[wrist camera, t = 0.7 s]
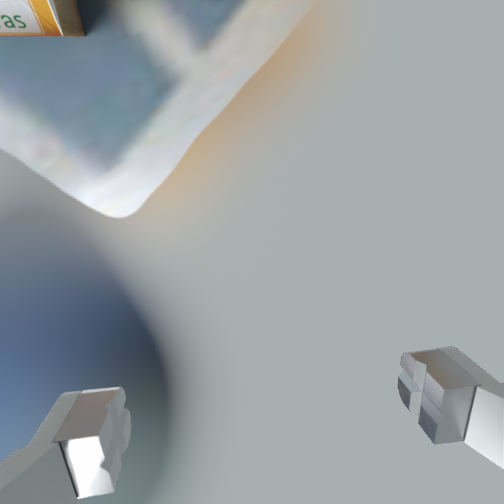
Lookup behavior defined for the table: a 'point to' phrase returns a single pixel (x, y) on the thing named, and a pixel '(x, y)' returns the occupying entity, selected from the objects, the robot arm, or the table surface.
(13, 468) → the robot arm
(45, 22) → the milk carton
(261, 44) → the table surface
